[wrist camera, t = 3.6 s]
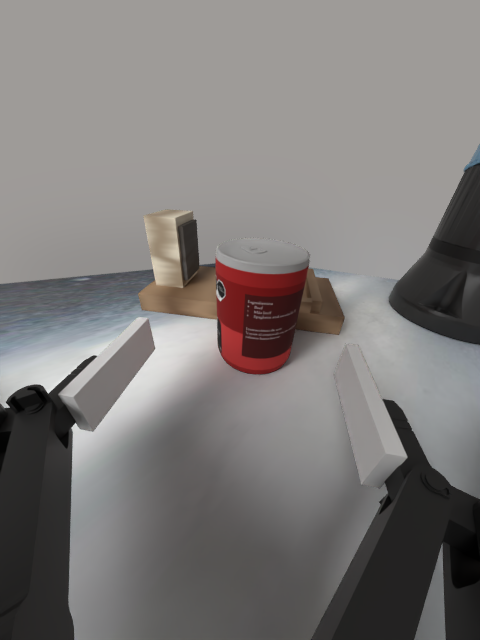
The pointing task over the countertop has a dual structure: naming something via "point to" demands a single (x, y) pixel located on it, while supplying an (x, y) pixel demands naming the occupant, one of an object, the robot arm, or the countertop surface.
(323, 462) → the countertop surface
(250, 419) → the countertop surface
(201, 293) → the wooden tray stand
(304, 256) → the canned food
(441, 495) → the robot arm
